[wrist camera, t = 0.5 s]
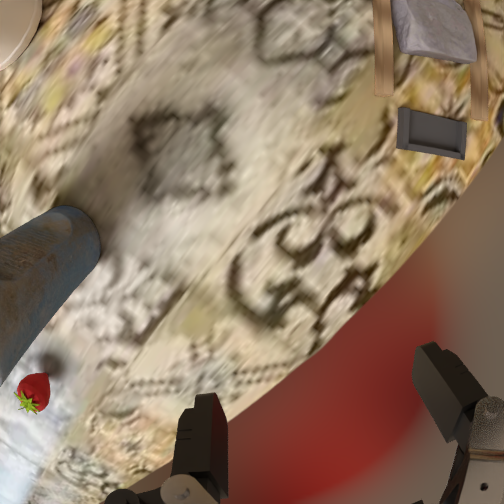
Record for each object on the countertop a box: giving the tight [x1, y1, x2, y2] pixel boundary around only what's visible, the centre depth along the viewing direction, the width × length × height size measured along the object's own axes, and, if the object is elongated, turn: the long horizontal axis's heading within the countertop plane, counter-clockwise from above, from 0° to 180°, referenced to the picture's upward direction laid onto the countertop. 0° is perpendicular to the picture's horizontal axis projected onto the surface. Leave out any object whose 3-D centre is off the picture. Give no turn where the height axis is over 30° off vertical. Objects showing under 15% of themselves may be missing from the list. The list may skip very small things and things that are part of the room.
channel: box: [372, 0, 488, 121], centre depth 27 cm, size 22×16×2 cm
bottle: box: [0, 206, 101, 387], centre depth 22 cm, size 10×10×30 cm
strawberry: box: [14, 373, 50, 414], centre depth 39 cm, size 6×8×10 cm
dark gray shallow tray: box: [396, 107, 467, 160], centre depth 33 cm, size 5×10×2 cm, turn 89°
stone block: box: [390, 0, 477, 64], centre depth 27 cm, size 12×5×10 cm
